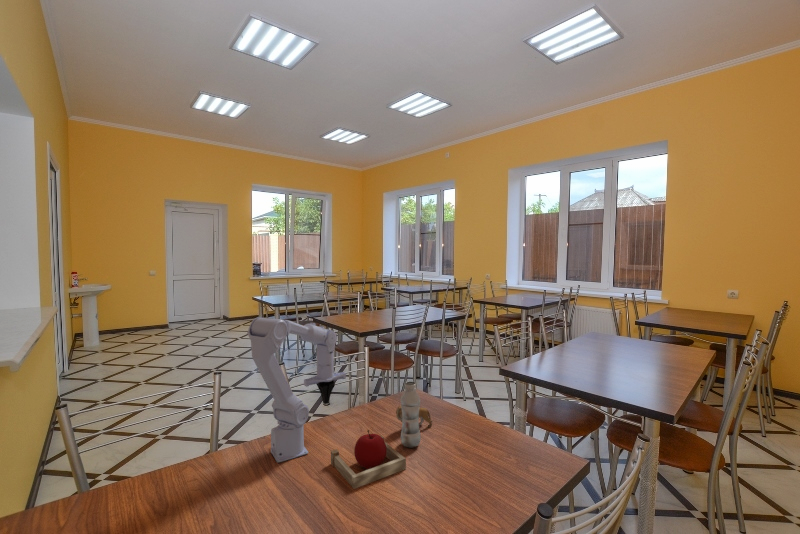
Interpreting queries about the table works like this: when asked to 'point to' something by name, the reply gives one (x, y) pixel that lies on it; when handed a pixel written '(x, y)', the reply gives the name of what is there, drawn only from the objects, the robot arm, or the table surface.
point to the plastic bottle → (410, 416)
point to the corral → (371, 474)
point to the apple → (370, 450)
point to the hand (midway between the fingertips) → (325, 402)
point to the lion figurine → (422, 415)
